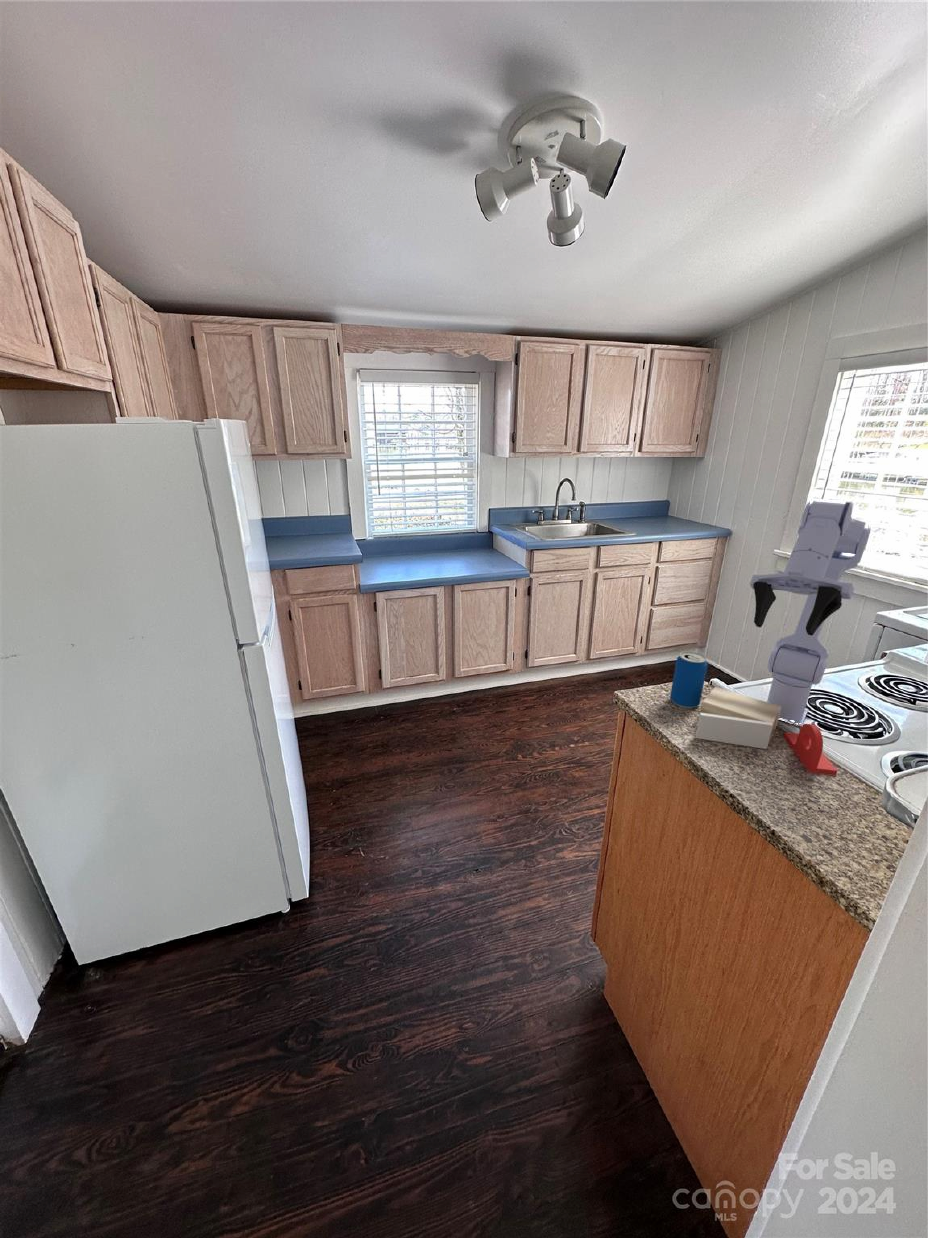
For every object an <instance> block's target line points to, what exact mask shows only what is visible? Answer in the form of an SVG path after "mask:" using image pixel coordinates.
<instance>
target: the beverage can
mask: <svg viewBox="0 0 928 1238" xmlns="http://www.w3.org/2000/svg"><path fill="white" fill-rule="evenodd" d="M708 664H709V663H708V662H707V657H706V656H705V655H703V654H701V653H697V652H694V651H683V652H680V653H679V656H678V657H677V658H676V661H675V667H674V673H673V677H672V678H673V679H672V684H671V689H670V690H671V691H670V695H669V696H670V697H669V698H670V701H671V702H672V703H673V704H674V705H676V706H678V707H679V708H682V709H694V708H696V707H699V705H700V704H701V699H702V694H703V689H704V686H705V685H704V684H705V679H706V675H707V670H708V669H707V668H708Z"/></svg>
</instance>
